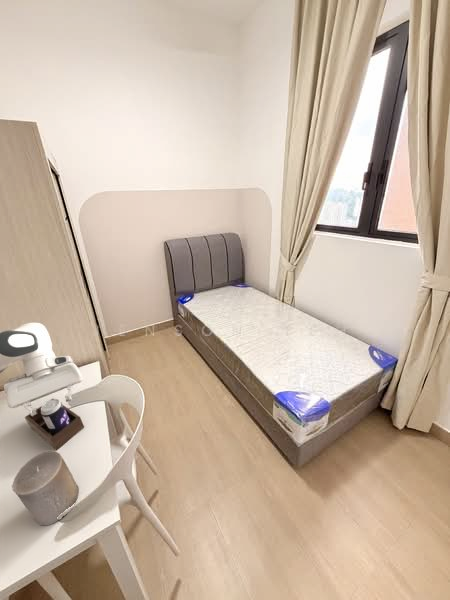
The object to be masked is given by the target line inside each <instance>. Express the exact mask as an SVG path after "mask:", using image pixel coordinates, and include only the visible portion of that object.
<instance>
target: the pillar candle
mask: <svg viewBox="0 0 450 600" xmlns="http://www.w3.org/2000/svg"><path fill="white" fill-rule="evenodd" d="M11 488H12V489H11V490H12V491H13V492H14V493H15V494H16V495H17V498H18V499H19V500H20V501H21V503H22V504H23V505H24V507H25V508H26V509H27V511H28V512H29V514H30V515H31V516H32V517H33V519H34V520H35V522H36V523H37V524H38V525H40V526H42V527H43V526H50V525H53V524H56V523H58V522H59V521H58V519H57V517H58V516H59V515H60V514H61V513H63V512H64V511H65V510H66V509H68V508H69V507H71V506H72V505H73V504H74V503H75V504H76V503H77V500H78V498H79V493H80V489H79V486H78V484H77V482H76V480H75V479H74V477H73V474H72V473H71V471H70V469H69V467H68V465H67V463H66V461H65V459H64V457H63V456H62V455H61V453H60V452H58V451H57V450H56V451H55V450H51V451H50V450H49V451H44V452H42V453H40V454H37V455H36V456H33V457H32V458H31V459H29V460H28V461H27V462H26V463H25V464H24V465H23V466H22V467H21V468H20V469H19V471H18V472H17V473H16V475H15V477H14V479H13V482H12V485H11ZM75 504H74V505H75Z"/></svg>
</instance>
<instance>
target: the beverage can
mask: <svg viewBox="0 0 450 600" xmlns="http://www.w3.org/2000/svg"><path fill="white" fill-rule="evenodd" d="M52 399H53V400H51V399H50V400H48V401H46V402H45V403H43V404H42V405H43V406H42V405H41V406H42V407H41V406H40V407H41V415H42V417H43V419H44V421H45V422H46V424H47V426H48V428H49V430H50V432H51V434H52V436H54V435H55V434H56V433H58V432H59V431H60V430H62V429H63V428H64V427H65V426H67V425H68V424H69V423H70V419H69V417H68V415H67V413H66V411H65V409H64V407H63V406H64V405H63V403H62V401H60V399H57V398H52Z"/></svg>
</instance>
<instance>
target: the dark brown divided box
mask: <svg viewBox="0 0 450 600" xmlns="http://www.w3.org/2000/svg"><path fill="white" fill-rule="evenodd" d="M53 399H54V398H51V399H50V400H53ZM43 405H44V404H42V405H41V406H39V407H38V408H36V409H37V412H38V414H37V415H35V416H31V414H30V413H28V414H27V415H26V416H24V419H25V420H26V422H27V424H28V426H29V428H31V429H32V430H33V431H34V432H35V433H36V434H37V435H39V436H40V437H41V438H42V439H43V440H44V441H45V442H46V443H48V444H49V445H50V446H51V447H52V448H54V449H55V450H56V451H58V450H59V449H61V448H62V447H64V445H65V444H67V443H68V442H69V441H70V440H71V439H73V437H75V436H76V435H78V433H79V432H82V430H83V429H84V428H85V425H84V423H83V420H82V418H81V416H79V415H78V414H76V413H75V412H74V411H72V409H69V408H68V407H66V406H65V405H63V407H64V409H65V411H66V413H67V415H68V417H69V419H70V423H69V424H68V425H67V426H65V427H64V428H63V429H62V430H60V431H59V432H58V433H56V434H55V435H54V436H52V434H51V432H50V430H49V428H48V426H47V424H46V422H45V421H44V419H43V417H42V415H41V407H42V406H43Z"/></svg>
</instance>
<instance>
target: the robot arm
mask: <svg viewBox="0 0 450 600" xmlns="http://www.w3.org/2000/svg"><path fill="white" fill-rule="evenodd" d="M20 361H21V362H22V364H23V365H22V366H23V369H24V373H23V374H21V375H17V376H16V377H12V378H9V379H8V381H6V382H5V383H4V384H3V391H4V393H5V394H6V404H7V407H8V408H11V409H16V408H20V407H21V406H23V407H24V409H26V410H27V411H29V414H31V416H35V415H37V414H38V412H37V409H38V408H33V407H31V406H32V402H34V401H37V400H39V399H42V398H44V397H47V396H49V395H52V394H55V393H57V392H60V391H62V390H67V391H68V392H67V395H65V396H64V399H65V402H67V403H68V402H70V401H72V400H73V399H72V394H73V390H74V388H73V386H74V385H77V384H80V383H82V382H83V376H82V373H81V371H80V369H79V367H78V365H76V364H75V363H74V360H73V358H72V357H71V356H70V355H63V356H62V355H61V356H60V355H59V356H57V355H56V353H55V352H54V350H53V342H52V339H51V335H50V333H49V331H48V329H47V327H46V326H45V325H44V324H42V323H41V322H26V323H22V324H21V325H19V326H18V327H16V328H14V329H10V330H9V329H8V330H4V331H1V332H0V374H2V373H3V372H4V371H5V370H6V369H8V367H10V366H11V365H13V364H15V363H16V362H20Z"/></svg>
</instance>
